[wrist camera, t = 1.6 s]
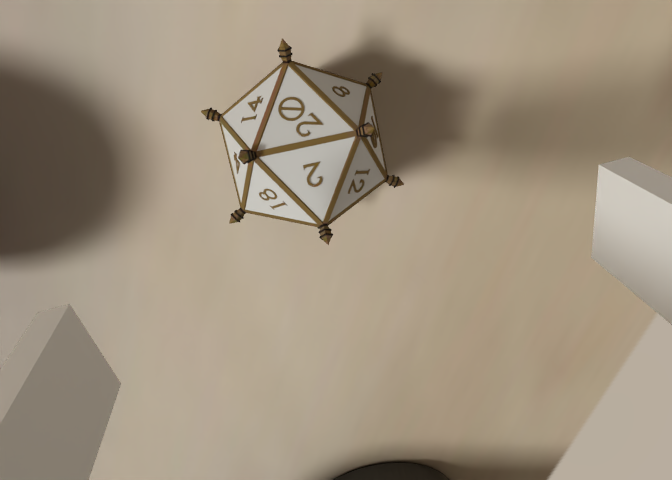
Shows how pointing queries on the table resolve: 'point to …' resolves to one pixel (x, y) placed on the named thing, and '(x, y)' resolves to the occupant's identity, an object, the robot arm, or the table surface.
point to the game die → (303, 145)
